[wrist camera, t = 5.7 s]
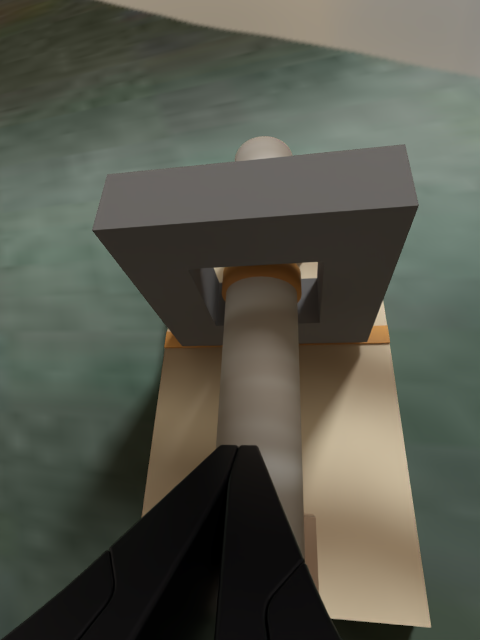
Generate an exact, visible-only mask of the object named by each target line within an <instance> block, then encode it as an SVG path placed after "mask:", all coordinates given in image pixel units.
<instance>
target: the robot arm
mask: <svg viewBox="0 0 480 640" xmlns="http://www.w3.org/2000/svg"><path fill="white" fill-rule="evenodd" d="M109 550H110V552H109V551H108V550H107V551H105V552H104V553H103V554H102V555H101V556H100V557H99V558H98V559H97V560H95V561H94V562H93V563H92V564H91V565H90V566H89V567H88V568H87V569H86V570H84V571H83V572H82V573H81V574H80V575H79V576H78V577H77V578H75V579H74V580H73V581H72V582H71V583H70V584H69V585H68V586H66V587H65V588H64V589H63V590H62V591H61V592H59V593H58V594H57V595H56V596H55V597H53V598H52V599H51V600H50V601H48V602H47V603H46V604H45V605H44V606H42V607H41V608H40V609H39V610H38V611H36V612H35V613H34V614H33V615H31V616H30V617H29V618H28V619H26V620H25V621H24V622H23V623H21V624H20V625H19V626H18V627H16V628H15V629H14V630H13V631H11V632H10V633H9V634H8V635H6V636H5V637H4V638H3V639H1V640H342V639H341V637H340V635H339V633H338V631H337V629H336V628H335V626H334V624H333V622H332V620H331V618H330V616H329V614H328V612H327V610H326V608H325V605H324V603H323V601H322V599H321V597H320V594H319V592H318V590H317V588H316V586H315V583H314V581H313V578H312V576H311V574H310V571H309V569H308V566H307V565H306V564H305V560H304V557H303V555H302V552H301V550H300V547H299V545H298V542H297V540H296V538H295V535H294V533H293V530H292V528H291V525H290V523H289V520H288V518H287V516H286V513H285V511H284V508H283V506H282V503H281V501H280V498H279V496H278V494H277V491H276V489H275V486H274V484H273V481H272V479H271V477H270V474H269V472H268V469H267V467H266V464H265V462H264V459H263V457H262V455H261V452H260V450H259V447H258V446H257V445H241V446H239V447H238V445H226V444H223V445H220V446H218V447H217V448H216V449H215V450H214V451H213V452H212V453H211V454H210V455H209V456H208V457H207V458H205V459H204V460H203V461H202V462H201V463H200V464H199V465H198V466H197V467H196V468H195V469H194V470H193V471H191V472H190V473H189V474H188V475H187V476H186V477H185V478H184V479H183V480H182V481H181V482H180V483H179V484H177V485H176V486H175V487H174V488H173V489H172V490H171V491H170V492H169V493H168V494H167V495H166V496H165V497H163V498H162V499H161V500H160V501H159V502H158V503H157V504H156V505H155V506H154V507H153V508H152V509H151V510H149V511H148V512H147V513H146V514H145V515H144V516H143V517H142V518H141V519H140V520H139V521H138V522H137V523H135V524H134V525H133V526H132V527H131V528H130V529H129V530H128V531H127V532H126V533H125V534H124V535H123V536H121V537H120V538H119V539H118V540H117V541H116V542H115V543H114V544H113V545H112V546H111V547H110V549H109Z"/></svg>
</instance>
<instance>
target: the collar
mask: <svg viewBox="0 0 480 640" xmlns="http://www.w3.org/2000/svg"><path fill="white" fill-rule="evenodd" d="M418 206H419V204H418V200H417V195H416V191H415V187H414V182H413V178H412V173H411V169H410V164H409V160H408V155H407V151H406V146H405V144H404V145H394V146H384V147H374V148H365V149H355V150H345V151H335V152H325V153H315V154H305V155H295V156H285V157H275V158H266V159H256V160H246V161H236V162H226V163H216V164H206V165H196V166H186V167H176V168H166V169H157V170H147V171H137V172H127V173H117V174H107V177H106V181H105V185H104V188H103V192H102V196H101V199H100V203H99V207H98V210H97V214H96V218H95V221H94V225H93V229H92V231H93V232H94V233H95V235H96V236H97V237H98V238H99V240H100V241H101V242H102V244H103V245H104V246H105V248H106V249H107V250H108V251H109V253H110V254H111V255H112V257H113V258H114V259H115V260H116V262H117V263H118V264H119V266H120V267H121V268H122V269H123V271H124V272H125V273H126V275H127V276H128V277H129V278H130V280H131V281H132V282H133V284H134V285H135V286H136V287H137V289H138V290H139V291H140V293H141V294H142V295H143V296H144V298H145V299H146V300H147V302H148V303H149V304H150V305H151V307H152V308H153V309H154V311H155V312H156V313H157V315H158V316H159V317H160V318H161V320H162V321H163V322H164V324H165V325H166V326H167V327H168V329H169V330H170V331H171V333H172V334H173V335H174V336H175V338H176V339H177V340H178V342H179V343H180V344H181V345H182V346H219V345H223V333H224V318H225V303H226V302H225V301H224V299H223V297H222V283H219V280H218V278H217V275H216V273H215V270H214V268H218V267H236V266H254V265H272V264H290V263H308V262H318V268H317V278H307V279H301V291H302V295H301V299H300V300H299V302H298V303H297V308H298V341H299V344H310V343H355V342H367V341H368V338H369V336H370V333H371V331H372V328H373V325H374V323H375V320H376V317H377V315H378V312H379V309H380V307H381V304H382V301H383V299H384V296H385V293H386V291H387V288H388V285H389V283H390V280H391V277H392V275H393V272H394V270H395V267H396V264H397V262H398V259H399V256H400V254H401V251H402V248H403V246H404V243H405V240H406V238H407V235H408V232H409V230H410V227H411V224H412V222H413V219H414V217H415V214H416V211H417V209H418Z"/></svg>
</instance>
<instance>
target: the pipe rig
mask: <svg viewBox="0 0 480 640" xmlns="http://www.w3.org/2000/svg"><path fill="white" fill-rule="evenodd" d="M285 156H292V152H291V150H290V149H289V147H288V146H287V145H286V144H285V143H284V142H282V141H281V140H279V139H276V138H273V137H266V136H263V137H256V138H253V139H250V140H248V141H247V142H245V143H244V144H243V145H242V146H241V147H240V148H239V149H238V151H237V153H236V156H235V162H236V161H246V160H256V159H266V158H275V157H285ZM317 268H318V262H308V263H290V264H272V265H254V266H236V267H218V268H214V270H215V273H216V275H217V278H218V280H219V283H222V297H223V299H224V301H225V302H226V303H225V318H224V333H223V345H219V346H182V345H181V344H180V343H179V342H178V340H177V339H176V338H175V336H174V335H173V334H172V333H171V331H170V330H169V329H168V330H167V332H166V339H165V346H164V348H165V352H164V359H163V366H162V374H161V381H160V388H159V395H158V402H157V410H156V417H155V424H154V431H153V438H152V446H151V453H150V460H149V467H148V474H147V482H146V489H145V496H144V503H143V510H142V517H143V516H144V515H145V514H146V513H147V512H148V511H149V510H151V509H152V508H153V507H154V506H155V505H156V504H157V503H158V502H159V501H160V500H161V499H162V498H163V497H165V496H166V495H167V494H168V493H169V492H170V491H171V490H172V489H173V488H174V487H175V486H176V485H177V484H179V483H180V482H181V481H182V480H183V479H184V478H185V477H186V476H187V475H188V474H189V473H190V472H191V471H193V470H194V469H195V468H196V467H197V466H198V465H199V464H200V463H201V462H202V461H203V460H204V459H205V458H207V457H208V456H209V455H210V454H211V453H212V452H213V451H214V450H215V449H216V448H217V447H218V446H220V445H223V444H226V445H238V447H239V446H241V445H257V446H258V447H259V450H260V452H261V455H262V457H263V459H264V462H265V464H266V467H267V469H268V472H269V474H270V477H271V479H272V481H273V484H274V486H275V489H276V491H277V494H278V496H279V498H280V501H281V503H282V506H283V508H284V511H285V513H286V516H287V518H288V520H289V523H290V525H291V528H292V530H293V533H294V535H295V538H296V540H297V542H298V545H299V547H300V550H301V552H302V555H303V557H304V560H305V564H306V565H307V566H308V569H309V571H310V574H311V576H312V578H313V581H314V583H315V586H316V588H317V590H318V592H319V594H320V597H321V599H322V601H323V603H324V605H325V608H326V610H327V612H328V614H329V616H330V618H332V619H342V620H353V621H364V622H375V623H386V624H397V625H408V626H419V627H430V628H431V623H430V616H429V609H428V603H427V596H426V589H425V582H424V575H423V569H422V562H421V555H420V548H419V541H418V534H417V528H416V521H415V514H414V507H413V500H412V494H411V487H410V480H409V473H408V466H407V459H406V453H405V446H404V439H403V432H402V425H401V419H400V412H399V405H398V398H397V391H396V384H395V378H394V371H393V364H392V357H391V350H390V344H389V343H390V339H389V333H388V326H387V323H386V316H385V309H384V303H383V301H382V304H381V307H380V309H379V312H378V315H377V317H376V320H375V323H374V325H373V328H372V331H371V333H370V336H369V338H368V341H367V342H355V343H310V344H299V341H298V308H297V303H298V302H299V300H300V299H301V295H302V291H301V279H307V278H317Z"/></svg>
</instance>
